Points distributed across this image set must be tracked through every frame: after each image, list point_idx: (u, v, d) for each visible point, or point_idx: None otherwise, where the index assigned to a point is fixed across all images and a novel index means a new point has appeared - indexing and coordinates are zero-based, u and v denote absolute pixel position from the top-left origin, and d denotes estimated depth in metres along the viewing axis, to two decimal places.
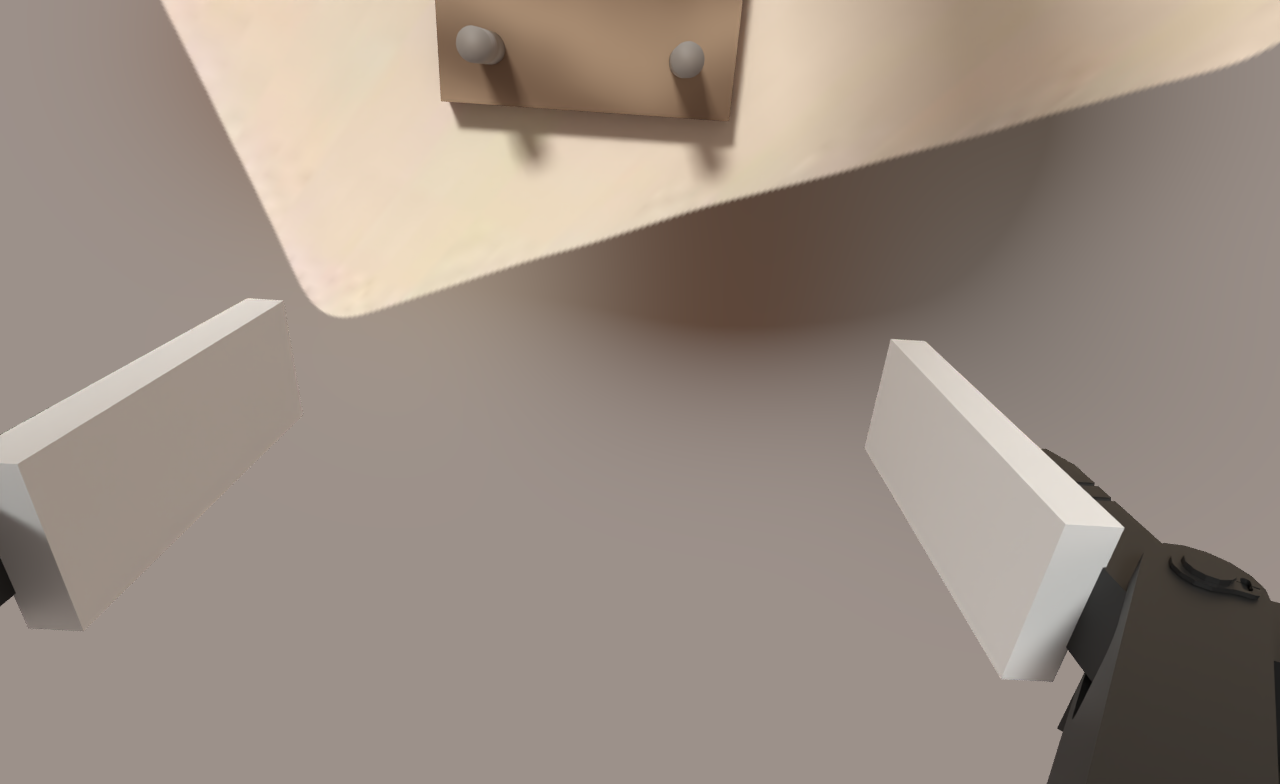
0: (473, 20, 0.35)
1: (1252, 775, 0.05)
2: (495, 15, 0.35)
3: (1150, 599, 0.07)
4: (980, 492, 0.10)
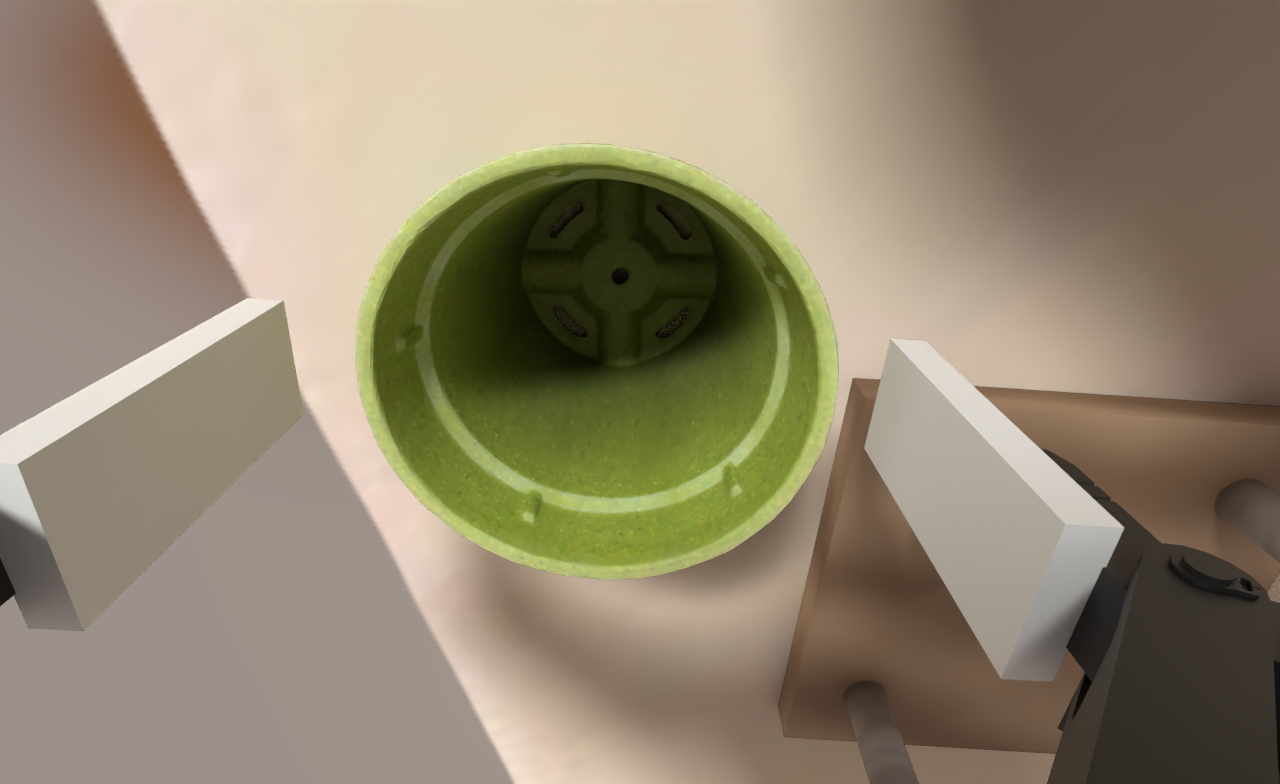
0: (850, 672, 0.26)
1: (1252, 775, 0.05)
2: (881, 668, 0.26)
3: (1150, 599, 0.07)
4: (981, 492, 0.10)
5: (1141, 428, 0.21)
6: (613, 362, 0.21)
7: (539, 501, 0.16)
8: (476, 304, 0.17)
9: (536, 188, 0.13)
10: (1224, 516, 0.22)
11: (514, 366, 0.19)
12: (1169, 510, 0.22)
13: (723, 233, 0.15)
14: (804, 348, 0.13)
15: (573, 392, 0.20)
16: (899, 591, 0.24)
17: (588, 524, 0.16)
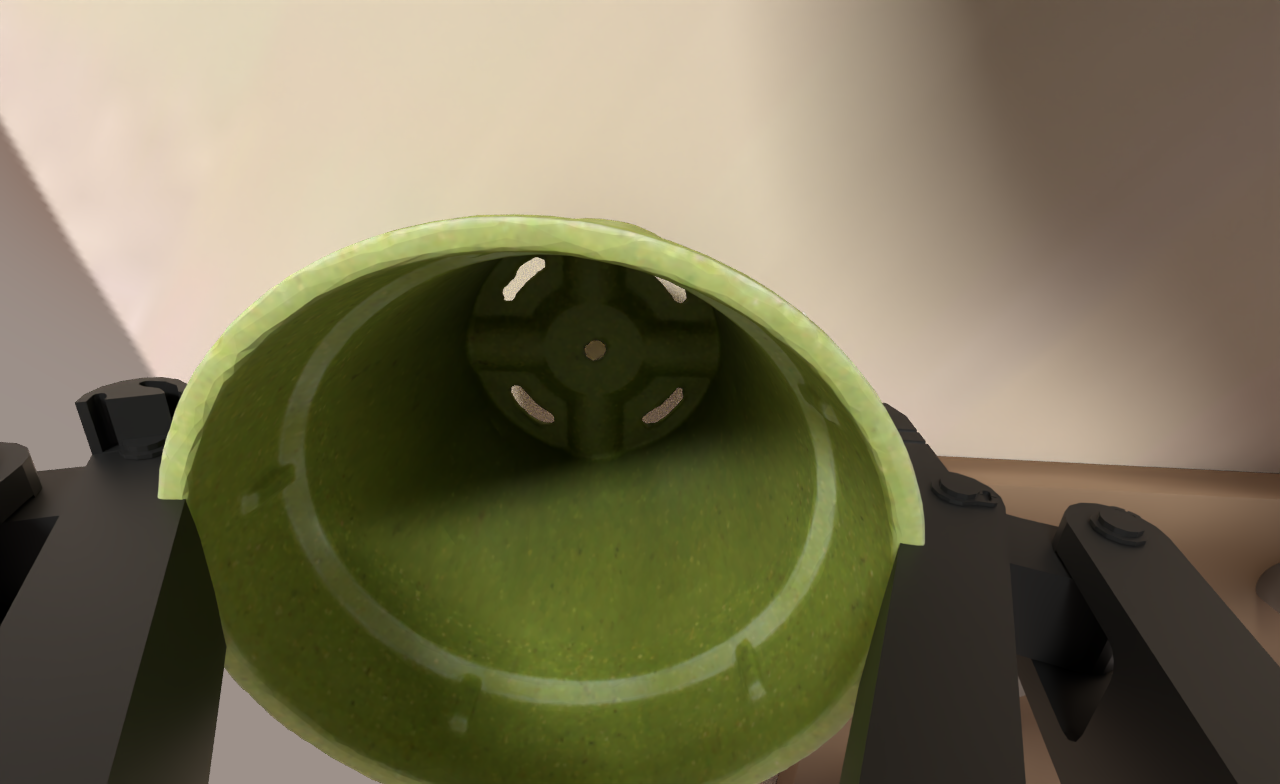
0: None
1: (998, 656, 0.06)
2: None
3: None
4: None
5: (1176, 507, 0.19)
6: (589, 455, 0.17)
7: (477, 692, 0.11)
8: (392, 406, 0.12)
9: (452, 269, 0.09)
10: (1268, 601, 0.19)
11: (452, 477, 0.14)
12: None
13: None
14: (866, 512, 0.09)
15: (534, 502, 0.15)
16: None
17: (547, 726, 0.11)
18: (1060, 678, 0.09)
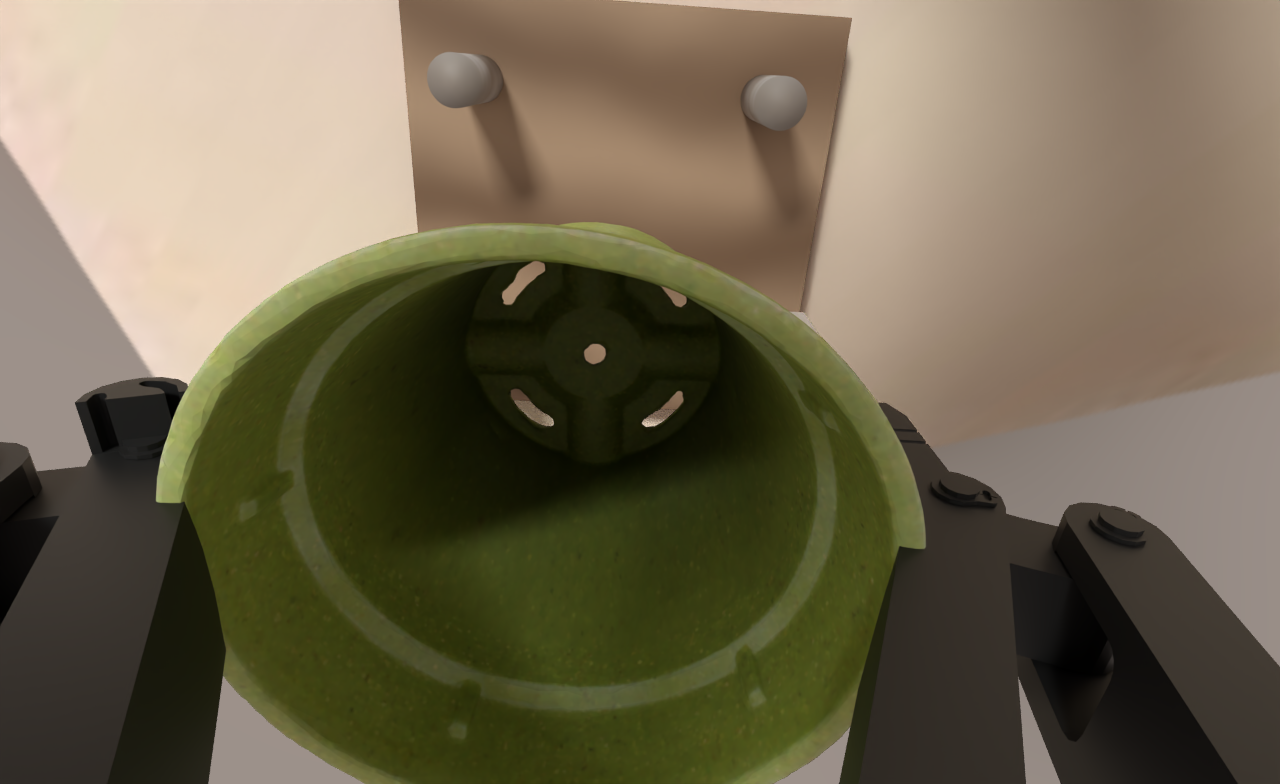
0: None
1: (997, 656, 0.06)
2: None
3: None
4: None
5: (651, 16, 0.23)
6: (588, 459, 0.17)
7: (476, 698, 0.11)
8: (392, 411, 0.12)
9: (451, 275, 0.09)
10: (744, 111, 0.24)
11: (452, 482, 0.14)
12: (703, 113, 0.25)
13: None
14: (866, 519, 0.09)
15: (534, 506, 0.15)
16: (488, 214, 0.26)
17: (546, 732, 0.11)
18: (1062, 679, 0.09)
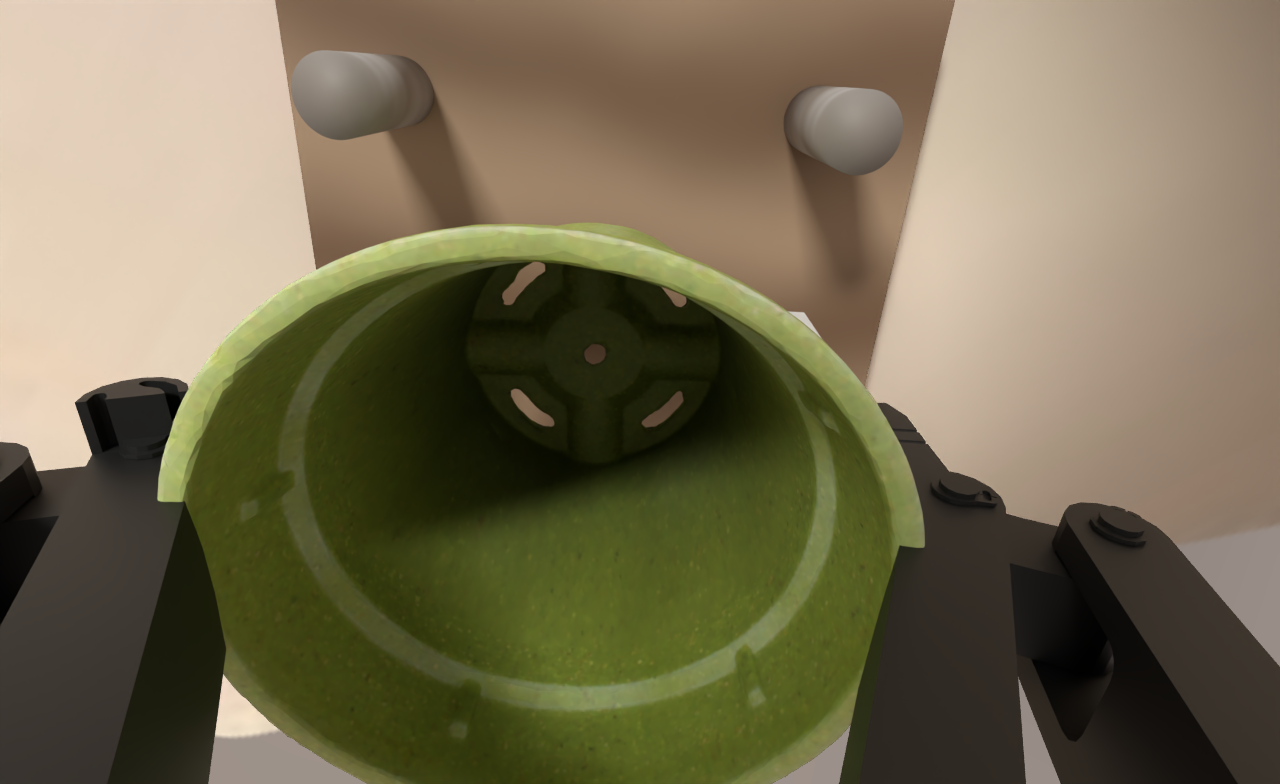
0: None
1: (997, 656, 0.06)
2: None
3: None
4: None
5: None
6: (588, 458, 0.17)
7: (476, 698, 0.11)
8: (392, 411, 0.12)
9: (451, 276, 0.09)
10: (789, 138, 0.16)
11: (452, 482, 0.14)
12: (728, 141, 0.17)
13: None
14: (865, 519, 0.09)
15: (534, 506, 0.15)
16: None
17: (546, 732, 0.11)
18: (1061, 678, 0.09)
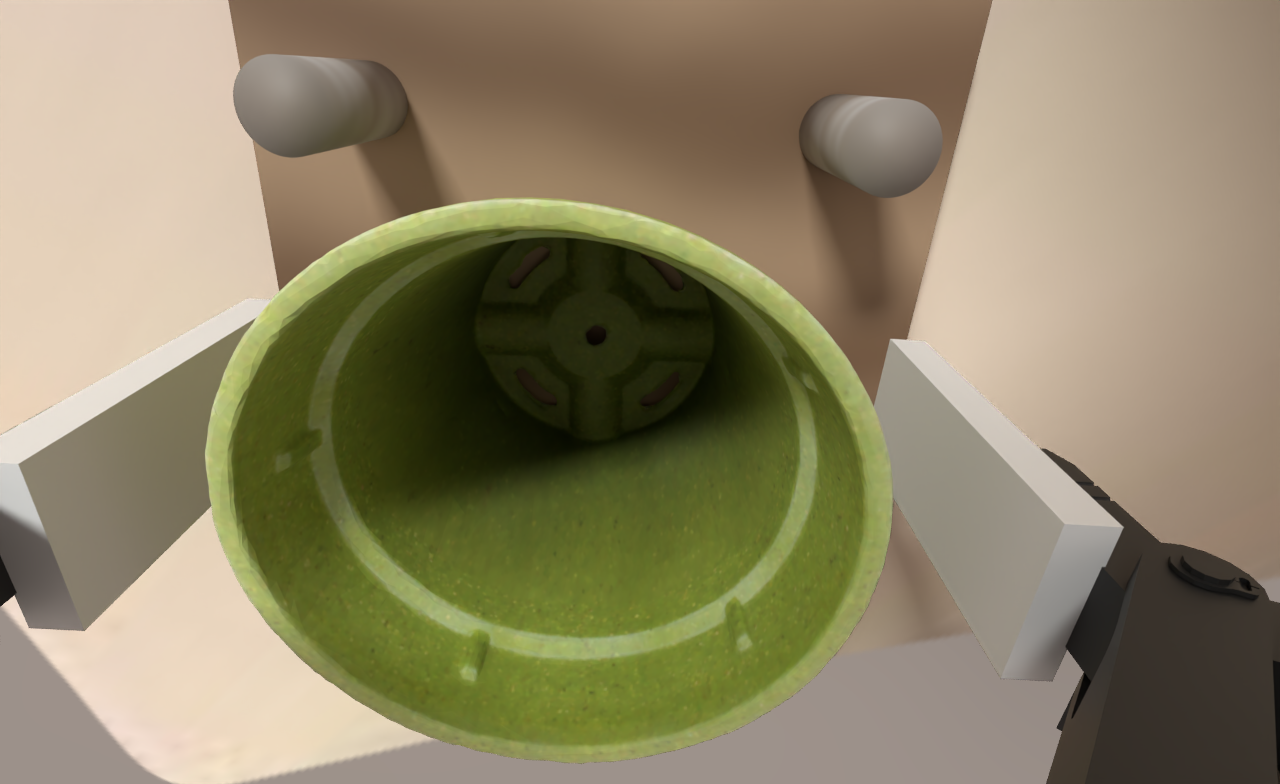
0: None
1: (1251, 775, 0.05)
2: None
3: (1149, 599, 0.07)
4: (980, 492, 0.10)
5: None
6: (589, 435, 0.18)
7: (486, 647, 0.12)
8: (408, 383, 0.13)
9: (470, 250, 0.09)
10: (806, 153, 0.15)
11: (462, 452, 0.15)
12: (737, 156, 0.15)
13: None
14: (842, 473, 0.10)
15: (538, 478, 0.16)
16: None
17: (550, 678, 0.12)
18: None
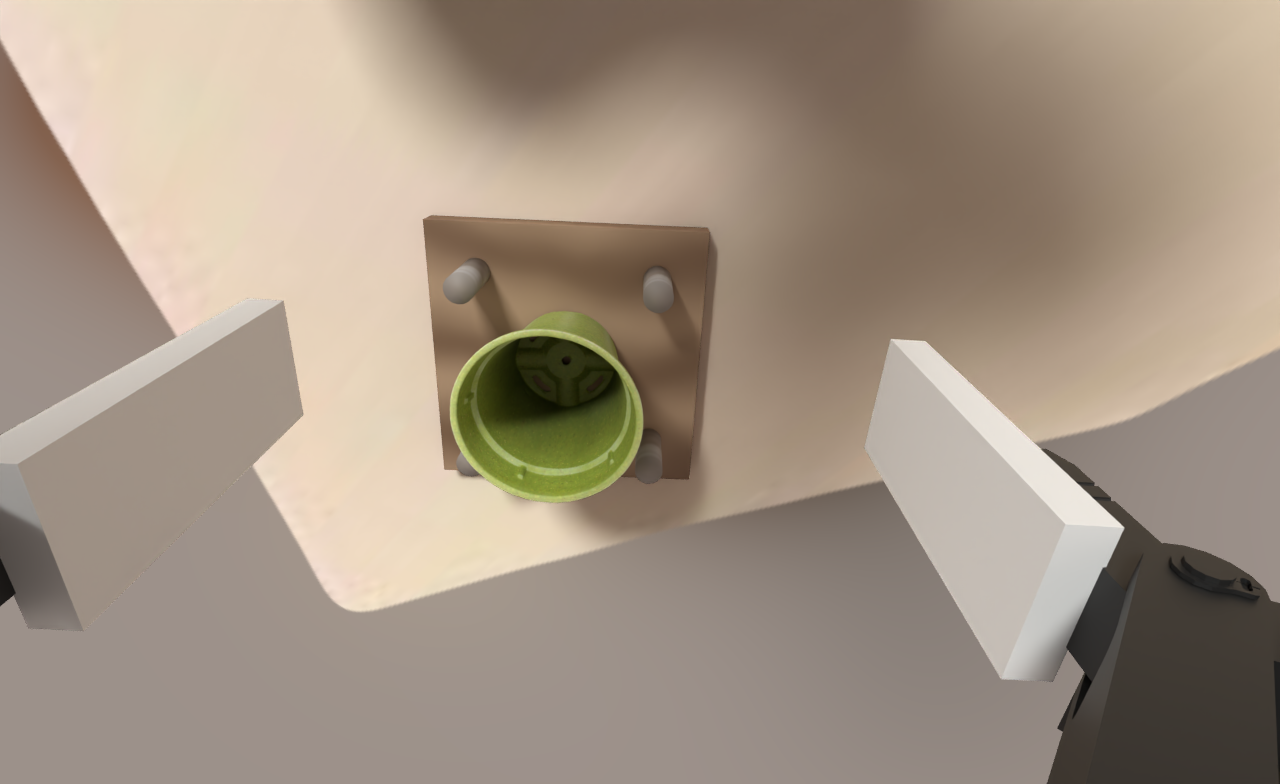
0: None
1: (1252, 775, 0.05)
2: None
3: (1150, 599, 0.07)
4: (980, 491, 0.10)
5: (582, 234, 0.37)
6: (565, 404, 0.41)
7: (525, 470, 0.35)
8: (495, 379, 0.36)
9: None
10: None
11: (512, 408, 0.38)
12: (620, 288, 0.38)
13: (604, 349, 0.34)
14: (632, 400, 0.32)
15: (542, 420, 0.39)
16: None
17: (548, 480, 0.35)
18: None
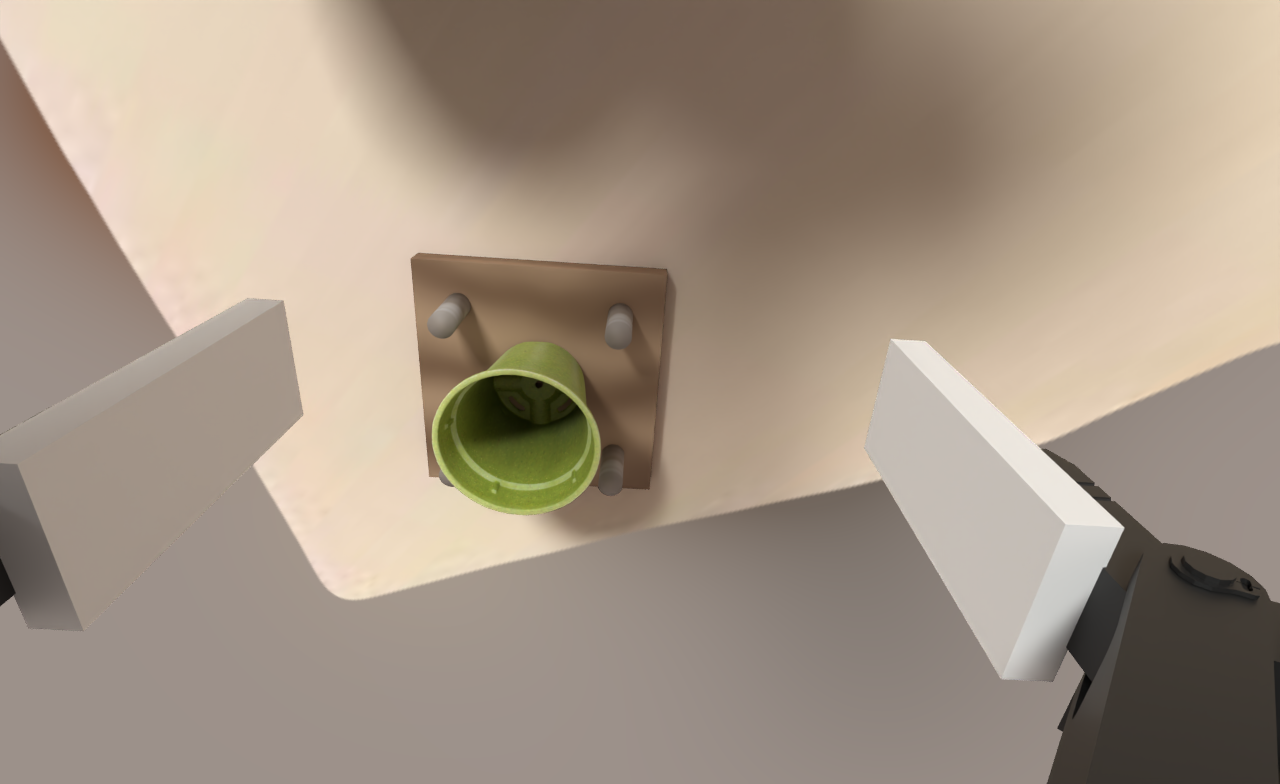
0: None
1: (1252, 775, 0.05)
2: None
3: (1150, 599, 0.07)
4: (980, 492, 0.10)
5: (553, 274, 0.41)
6: (537, 422, 0.45)
7: (498, 485, 0.40)
8: (473, 403, 0.41)
9: None
10: None
11: (489, 427, 0.43)
12: (587, 322, 0.43)
13: (569, 381, 0.39)
14: None
15: (517, 437, 0.44)
16: (463, 374, 0.44)
17: (518, 494, 0.40)
18: None
